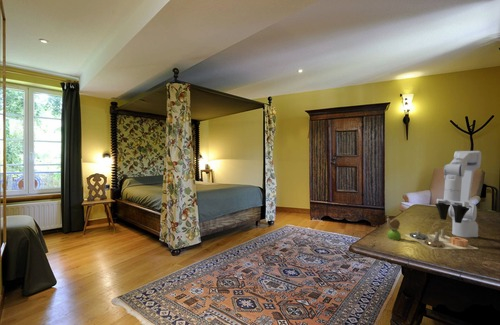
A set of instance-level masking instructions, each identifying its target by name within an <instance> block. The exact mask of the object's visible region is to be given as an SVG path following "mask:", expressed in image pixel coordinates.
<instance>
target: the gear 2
mask: <svg viewBox="0 0 500 325" xmlns="http://www.w3.org/2000/svg"><path fill="white" fill-rule="evenodd" d="M424 243H426V245H430V246H432V247H437V248H439V247H442V248H444V247H445V243H443V242H440V241H438V240H436V243H434V241H432V239H430V240H427V239H426V240H424ZM426 245H425V246H426Z"/></svg>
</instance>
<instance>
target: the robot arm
mask: <svg viewBox="0 0 500 325" xmlns="http://www.w3.org/2000/svg"><path fill="white" fill-rule="evenodd" d="M481 163H482V151H480V150H456V151H454V154H453V159H452V160H451V161H450V162H449V163H447V164H445V165H444V166H443V179H444V188H443V189H444V191H443V198H436V202H435V204H434V205H435V207H436V208H437V211H438V214H439V218H440V220H444V221H446V220H447V217H448V216H449V217H450V218H451V219H452V228H451V230H452V231H451V234H452V235H453V236H455V237H460V238H478V237H479V224H478V222H476V219H477V213H478V212H477V211H478V210H477V208H478V207H477V205H476V204H475V203H474V202H472V201H471V195H472V188H473V181H474V180H473V179H474V175H475V174H474V173H475V172H476V170H479V169H480V168H481V165H482V164H481Z"/></svg>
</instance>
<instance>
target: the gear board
mask: <svg viewBox="0 0 500 325" xmlns="http://www.w3.org/2000/svg"><path fill="white" fill-rule="evenodd" d="M445 230H446V229H444V228H443V229H442V228H440V231H439V232H438V231H435V232H434V234H425V235H426V236H428V239H427V240H430V239H432V241H434V243H436V240H438V241H440V242H443V243H445V247H444V248H442V247H439V248H437V247H432V246H430V245H426V243H424V240H420V239H415V238H412V237H411V236H410V234H404V236H406V237H408V238H409V239H412V240H414V241H415V242H418V243H419V244H422V245H423V246H426V247H427V248H430V249H432V250H458V249H460V250H464V249H465V250H467V249H469V250H473V249H475V250H478V249H479V248H478V247H475V246H473V245H470V244H468V246H466V247H463V246H457V245H453V244H451V243H450V237H451V236H448V235H446V234H445V233H446V231H445ZM416 233H417V235H420V233H421V230H417V231H416Z"/></svg>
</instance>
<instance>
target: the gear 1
mask: <svg viewBox="0 0 500 325" xmlns="http://www.w3.org/2000/svg"><path fill="white" fill-rule="evenodd" d="M409 235H410V236H411V237H412V238H415V239H420V240H426V239H428V236H426V235H427V234H423V233H421V232H420V235H417V232H410V233H409ZM412 238H411V239H412Z"/></svg>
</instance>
